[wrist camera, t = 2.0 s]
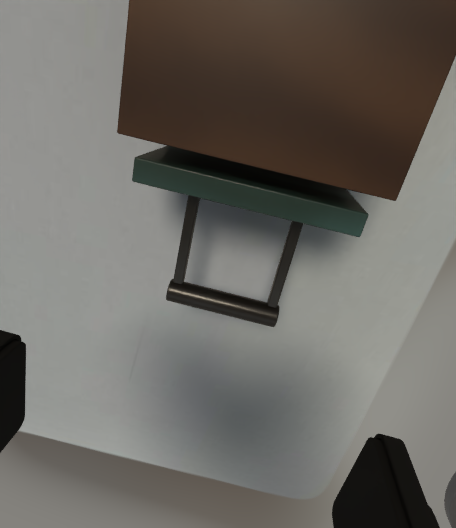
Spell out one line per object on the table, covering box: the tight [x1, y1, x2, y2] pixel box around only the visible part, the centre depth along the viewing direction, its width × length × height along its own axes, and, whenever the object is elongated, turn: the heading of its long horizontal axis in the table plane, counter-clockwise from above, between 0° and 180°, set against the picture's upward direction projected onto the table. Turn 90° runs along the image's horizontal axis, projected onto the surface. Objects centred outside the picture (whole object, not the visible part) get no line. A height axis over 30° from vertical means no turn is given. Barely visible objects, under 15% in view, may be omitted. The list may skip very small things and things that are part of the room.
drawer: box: [132, 146, 368, 327], centre depth 20 cm, size 21×11×7 cm, turn 168°
